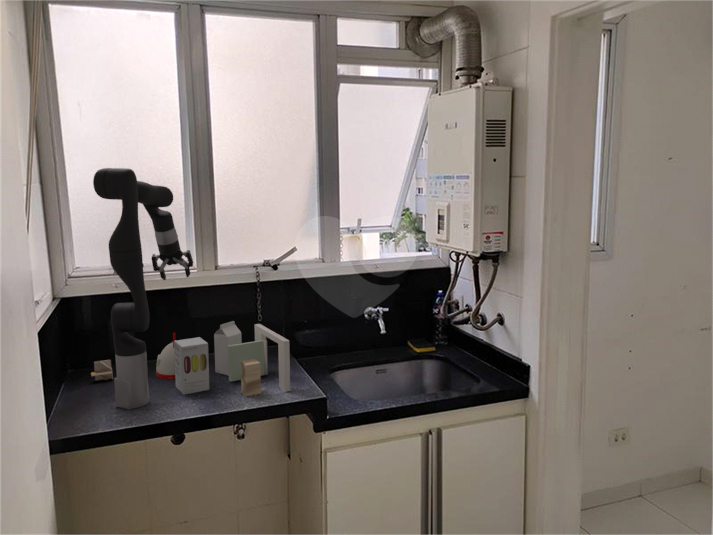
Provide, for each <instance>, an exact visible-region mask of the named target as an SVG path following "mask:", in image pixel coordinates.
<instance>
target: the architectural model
mask: <svg viewBox="0 0 713 535" xmlns="http://www.w3.org/2000/svg"><path fill="white" fill-rule="evenodd" d="M93 365H94V366H93V367H94V371H93V372H92V371H91V373H90V375H91V377H94V378H95V379H94V380H95V382H96V381H102V380H105V381H108V380H110V379H112V381H113V380H114V377H113V376H114V375H113V368H112V360H111V359H106V360H97V361H93Z"/></svg>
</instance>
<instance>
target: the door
mask: <svg viewBox="0 0 713 535" xmlns="http://www.w3.org/2000/svg"><path fill="white" fill-rule="evenodd" d="M252 359H255V360H257V361H258V362H260V372H261V376H267V375H268V374H269V372H268V366H269V365H268V340H267V339H266V340H260V341H255V340H254V341H248V342H242V343H241V344H235V345H229V346H228V369H229V376H228V381H229V382H236V381H241V361H246V360H252Z"/></svg>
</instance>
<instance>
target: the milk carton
mask: <svg viewBox="0 0 713 535" xmlns="http://www.w3.org/2000/svg"><path fill="white" fill-rule="evenodd" d="M213 340H214V342H213V343H214V344H213V345H214V369H215V370H214V371H215V373H216V374H220V375H224V376H228V377H229V369H228V346H229V345H235V344H241V343H243V340H242V332H241V330H240V329H239V328H238V327H237V325H236V323H235V321H234V320H232V321H229V322H225V323H222V324H220V325H219V329H217V330H216V331H215V333H213Z"/></svg>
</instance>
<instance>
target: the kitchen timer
mask: <svg viewBox="0 0 713 535" xmlns="http://www.w3.org/2000/svg"><path fill="white" fill-rule="evenodd" d="M176 340H177V338H176V332H173V333H172V341H171V342H170V343H169V344H167V345H166V346H165V347H164V348H163V349H162V351H161V353H160V354H158V355H157V357H156V358H157V359H156V369H155V370H156V371H155V374H156V377H157V378H159V379H163V380H164V379H165V380H176V378H175V350H174V341H176Z"/></svg>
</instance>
